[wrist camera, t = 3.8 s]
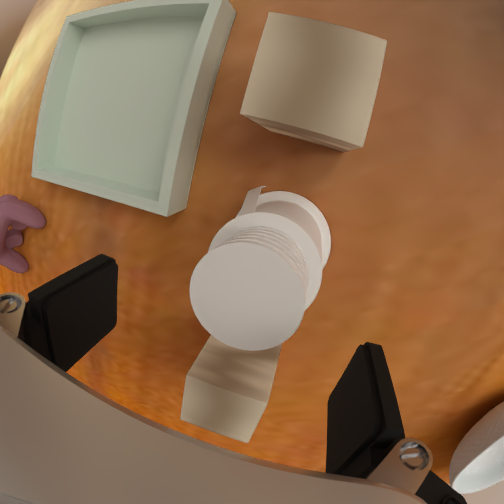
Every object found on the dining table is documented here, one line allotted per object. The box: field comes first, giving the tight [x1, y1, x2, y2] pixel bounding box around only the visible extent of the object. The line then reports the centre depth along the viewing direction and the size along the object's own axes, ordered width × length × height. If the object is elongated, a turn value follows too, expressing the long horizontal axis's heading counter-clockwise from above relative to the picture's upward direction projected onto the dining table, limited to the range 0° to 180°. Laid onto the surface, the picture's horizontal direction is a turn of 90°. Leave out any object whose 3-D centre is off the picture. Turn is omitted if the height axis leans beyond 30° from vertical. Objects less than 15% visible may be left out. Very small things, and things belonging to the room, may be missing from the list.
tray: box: [31, 0, 236, 217], centre depth 18 cm, size 16×16×3 cm
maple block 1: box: [180, 335, 282, 443], centre depth 20 cm, size 5×5×8 cm
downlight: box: [190, 186, 331, 351], centre depth 16 cm, size 8×7×10 cm
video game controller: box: [0, 195, 46, 273], centre depth 24 cm, size 10×5×7 cm, turn 133°
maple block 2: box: [240, 12, 387, 152], centre depth 13 cm, size 5×5×8 cm
